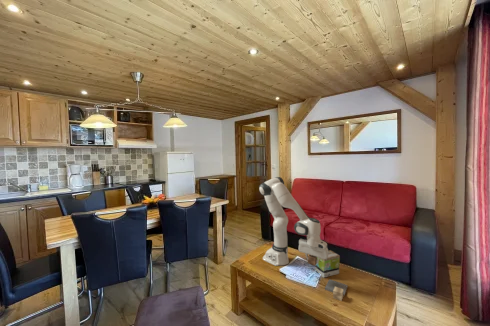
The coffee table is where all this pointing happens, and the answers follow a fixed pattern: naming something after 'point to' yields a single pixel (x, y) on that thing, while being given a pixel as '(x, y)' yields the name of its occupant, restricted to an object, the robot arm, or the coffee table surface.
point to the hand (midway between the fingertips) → (312, 260)
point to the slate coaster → (333, 284)
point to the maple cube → (338, 293)
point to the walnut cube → (312, 260)
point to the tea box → (328, 265)
